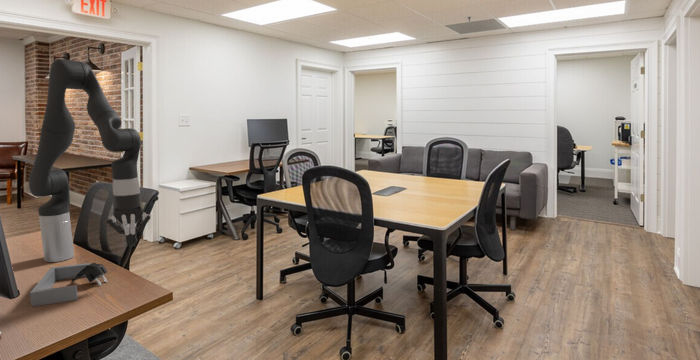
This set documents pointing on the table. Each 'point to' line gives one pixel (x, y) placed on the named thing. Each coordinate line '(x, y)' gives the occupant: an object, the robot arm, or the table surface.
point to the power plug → (93, 273)
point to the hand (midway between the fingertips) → (131, 245)
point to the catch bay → (55, 295)
